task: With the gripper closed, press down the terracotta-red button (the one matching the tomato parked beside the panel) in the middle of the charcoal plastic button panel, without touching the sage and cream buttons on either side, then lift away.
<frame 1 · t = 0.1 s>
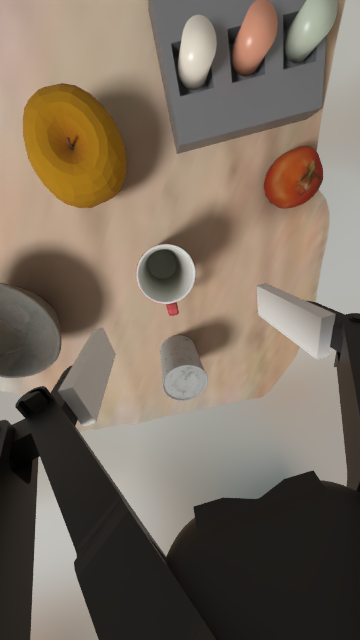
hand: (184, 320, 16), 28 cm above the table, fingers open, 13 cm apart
panel: (237, 71, 30), on the table
mug: (163, 271, 42), on the table
button sage: (309, 27, 26), point 5 cm above the table, slide at 0.0 cm
grey stone cylinder: (177, 350, 51), on the table
tomato: (279, 186, 38), on the table
button terracotta: (253, 41, 25), point 5 cm above the table, slide at 0.0 cm
bowl: (32, 313, 41), on the table
button cream: (195, 56, 25), point 5 cm above the table, slide at 0.0 cm
apple: (92, 169, 33), on the table
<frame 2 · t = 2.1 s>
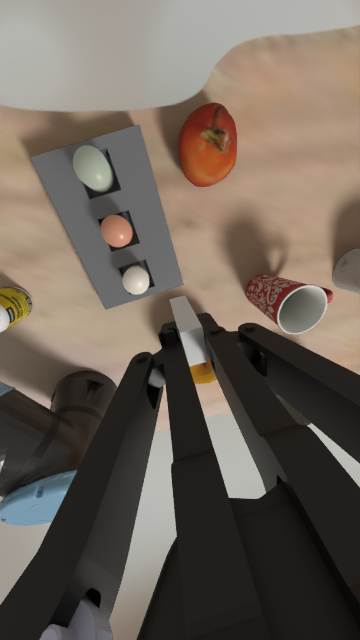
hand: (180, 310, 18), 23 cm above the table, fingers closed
panel: (122, 231, 35), on the table
mug: (267, 288, 44), on the table
button sage: (94, 171, 27), point 5 cm above the table, slide at 0.0 cm
grey stone cylinder: (350, 269, 46), on the table
tomato: (201, 158, 32), on the table
pill bottle: (18, 300, 37), on the table
button terracotta: (118, 231, 30), point 5 cm above the table, slide at 0.0 cm
bowl: (277, 379, 57), on the table
button cream: (136, 279, 34), point 5 cm above the table, slide at 0.0 cm
apple: (193, 339, 47), on the table
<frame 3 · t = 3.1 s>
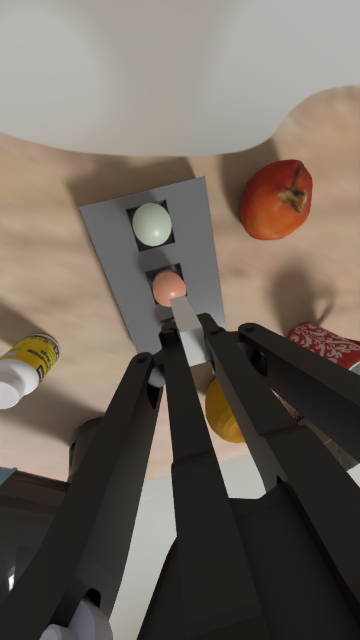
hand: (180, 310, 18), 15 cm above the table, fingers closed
panel: (165, 279, 32), on the table
mug: (308, 335, 41), on the table
button sage: (152, 226, 23), point 5 cm above the table, slide at 0.0 cm
tomato: (259, 207, 29), on the table
pill bottle: (43, 347, 33), on the table
button terracotta: (168, 287, 27), point 5 cm above the table, slide at 0.0 cm
bowl: (304, 422, 54), on the table
button cream: (180, 334, 30), point 5 cm above the table, slide at 0.0 cm
apple: (224, 384, 44), on the table
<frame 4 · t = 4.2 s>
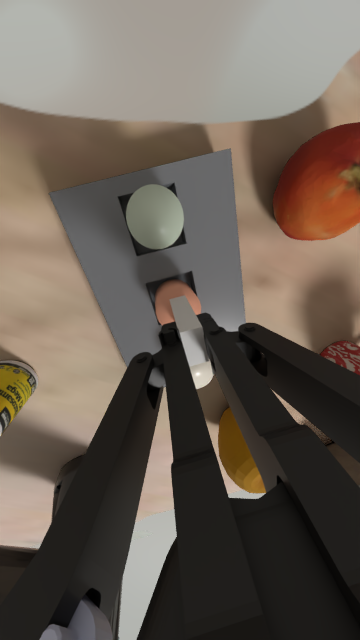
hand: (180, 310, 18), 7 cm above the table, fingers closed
panel: (171, 291, 25), on the table
mug: (342, 355, 34), on the table
button sage: (154, 220, 16), point 5 cm above the table, slide at 0.0 cm
tomato: (295, 197, 22), on the table
pill bottle: (16, 375, 26), on the table
button terracotta: (176, 303, 20), point 5 cm above the table, slide at 0.2 cm, touching gripper
bowl: (328, 449, 47), on the table
button cream: (191, 363, 23), point 5 cm above the table, slide at 0.0 cm
apple: (240, 412, 37), on the table
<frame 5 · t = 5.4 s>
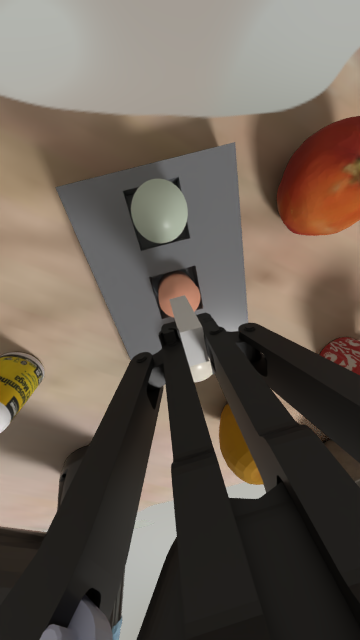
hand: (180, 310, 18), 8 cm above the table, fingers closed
panel: (174, 285, 25), on the table
mug: (344, 351, 34), on the table
button sage: (159, 214, 17), point 5 cm above the table, slide at 0.0 cm
tomato: (300, 191, 22), on the table
pill bottle: (23, 367, 27), on the table
button terracotta: (177, 293, 22), point 3 cm above the table, slide at 1.8 cm
bowl: (328, 445, 48), on the table
button cream: (193, 357, 24), point 5 cm above the table, slide at 0.0 cm
apple: (241, 406, 37), on the table
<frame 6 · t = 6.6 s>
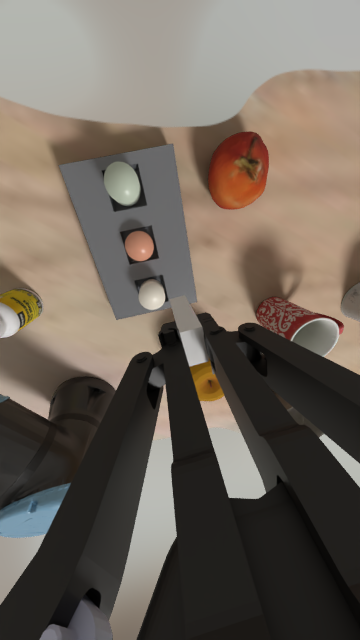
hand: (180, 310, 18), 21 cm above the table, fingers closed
panel: (141, 244, 35), on the table
mug: (277, 310, 45), on the table
button sage: (123, 186, 26), point 5 cm above the table, slide at 0.0 cm
grey stone cylinder: (358, 299, 46), on the table
tomato: (228, 180, 32), on the table
pill bottle: (27, 302, 37), on the table
button terracotta: (140, 245, 32), point 3 cm above the table, slide at 1.8 cm
bowl: (275, 398, 58), on the table
button cream: (152, 294, 33), point 5 cm above the table, slide at 0.0 cm
apple: (198, 353, 47), on the table
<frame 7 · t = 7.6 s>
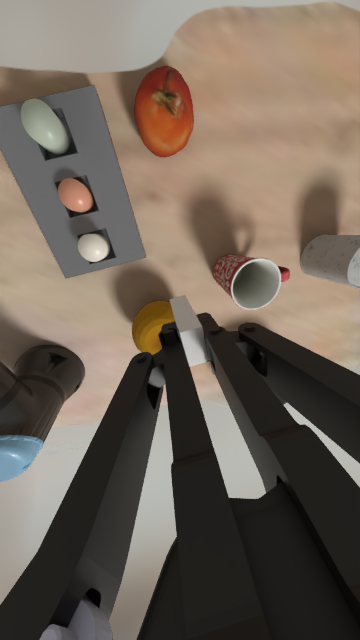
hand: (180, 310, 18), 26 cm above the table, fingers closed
panel: (84, 200, 35), on the table
mug: (234, 269, 45), on the table
button sage: (47, 129, 27), point 5 cm above the table, slide at 0.0 cm
grey stone cylinder: (318, 256, 46), on the table
tomato: (163, 129, 33), on the table
button terracotta: (77, 197, 32), point 3 cm above the table, slide at 1.8 cm
button cream: (95, 247, 34), point 5 cm above the table, slide at 0.0 cm
apple: (160, 318, 47), on the table
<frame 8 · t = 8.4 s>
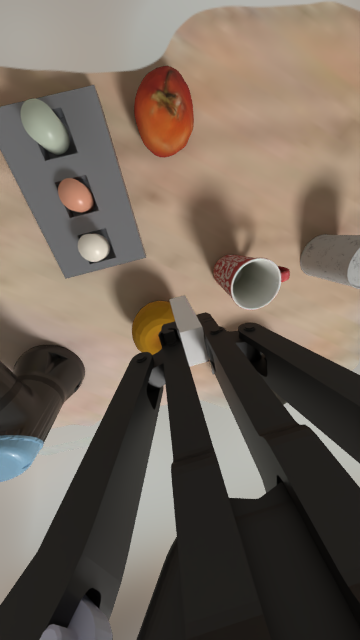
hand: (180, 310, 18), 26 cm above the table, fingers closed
panel: (84, 200, 35), on the table
mug: (234, 269, 45), on the table
button sage: (47, 129, 27), point 5 cm above the table, slide at 0.0 cm
grey stone cylinder: (318, 255, 46), on the table
tomato: (163, 129, 33), on the table
button terracotta: (77, 197, 32), point 3 cm above the table, slide at 1.8 cm
button cream: (94, 247, 34), point 5 cm above the table, slide at 0.0 cm
apple: (160, 318, 47), on the table
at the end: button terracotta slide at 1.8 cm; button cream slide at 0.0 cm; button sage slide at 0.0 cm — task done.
